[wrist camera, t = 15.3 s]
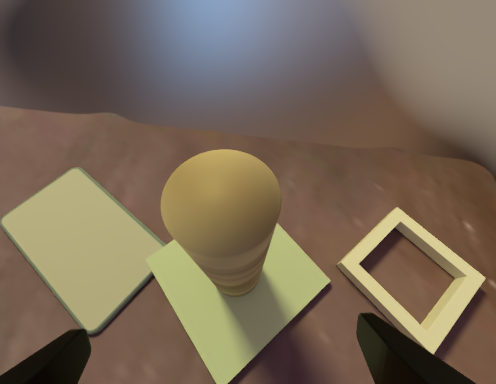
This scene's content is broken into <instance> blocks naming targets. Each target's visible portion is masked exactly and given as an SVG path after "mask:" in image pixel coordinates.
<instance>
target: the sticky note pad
mask: <svg viewBox="0 0 496 384" xmlns="http://www.w3.org/2000/svg"><path fill="white" fill-rule="evenodd" d="M0 226H1V228H2V229H3V230H4V231H5V233H6V234H7V235H8V236H9V238H10V239H11V240H12V242H13V243H14V244H15V245H16V247H17V248H18V249H19V250H20V252H21V253H22V254H23V255H24V257H25V258H26V259H27V260H28V262H29V263H30V264H31V266H32V267H33V268H34V269H35V271H36V272H37V273H38V274H39V276H40V277H41V278H42V279H43V281H44V282H45V283H46V285H47V286H48V287H49V288H50V290H51V291H52V292H53V293H54V295H55V296H56V297H57V298H58V300H59V301H60V302H61V303H62V305H63V306H64V307H65V309H66V310H67V311H68V312H69V314H70V315H71V316H72V317H73V319H74V320H75V321H76V322H77V324H78V325H79V326H80V328H84V329H86V330H87V333H88V334H90V335H92V334H96V333H98V332H100V331H101V330H102V329H103V328H104V327H105V326H106V325H107V324H108V323H109V322H110V321H111V320H112V319H113V318H114V317H115V316H116V315H117V313H118V312H119V311H120V310H121V309H122V308H123V306H125V305H126V304H127V303H128V302H129V301H130V300H131V299H132V297H133V296H134V295H135V294H136V293H137V292H138V291H139V290H140V289H141V288H142V287H143V286H144V285H145V284H146V283H147V282H148V280H149V279H151V277H152V276H154V274H153V272H152V270H151V269H150V267H149V265H148V263H147V262H146V260H145V259H147V258H148V257H150V256H151V255H153V254H154V253H155V252H157V251H158V250H160V249H161V248H163V247H164V246H166V244H165V243H164V242H163V241H162V240H161V239H159V238H158V237H157V236H156V235H155V234H154V233H153V232H152V231H151V230H149V229H148V228H147V227H146V226H145V225H144V224H143V223H142V222H141V221H140V220H138V219H137V218H136V217H135V216H134V215H133V214H132V213H131V212H130V211H128V210H127V209H126V208H125V207H124V206H123V205H122V204H121V203H120V202H119V201H117V200H116V199H115V198H114V197H113V196H112V195H111V194H110V193H109V192H108V191H106V190H105V189H104V188H103V187H102V186H101V185H100V184H99V183H98V182H97V181H95V180H94V179H93V178H92V177H91V176H90V175H89V174H88V173H87V172H85V171H84V170H83V169H82V168H79V167H75V168H72V169H70V170H69V171H67V172H66V173H64V174H63V175H61V176H60V177H58V178H57V179H56V180H54V181H53V182H51V183H50V184H48V185H47V186H46V187H44V188H43V189H41V190H40V191H38V192H37V193H35V194H34V195H33V196H31V197H30V198H28V199H27V200H25V201H24V202H22V203H21V204H20V205H18V206H17V207H15V208H14V209H12V210H11V211H10V212H8V213H7V214H5V215H4V216H3V217H2V218H1V220H0Z"/></svg>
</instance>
